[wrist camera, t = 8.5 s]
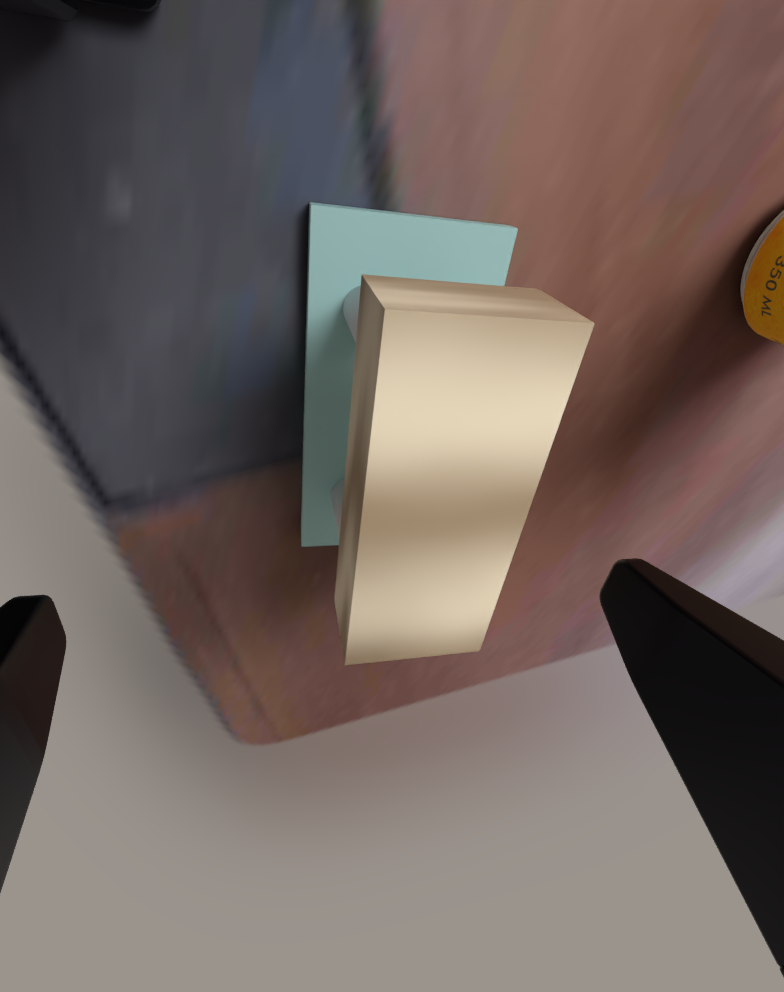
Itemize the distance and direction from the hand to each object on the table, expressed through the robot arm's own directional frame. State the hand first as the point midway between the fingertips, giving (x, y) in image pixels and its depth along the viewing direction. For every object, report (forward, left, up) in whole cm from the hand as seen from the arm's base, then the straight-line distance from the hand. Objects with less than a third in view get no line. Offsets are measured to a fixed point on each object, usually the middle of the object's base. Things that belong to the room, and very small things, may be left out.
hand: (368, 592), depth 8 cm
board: (+3, +3, -8) cm, 9 cm away
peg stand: (+3, +3, -13) cm, 14 cm away
